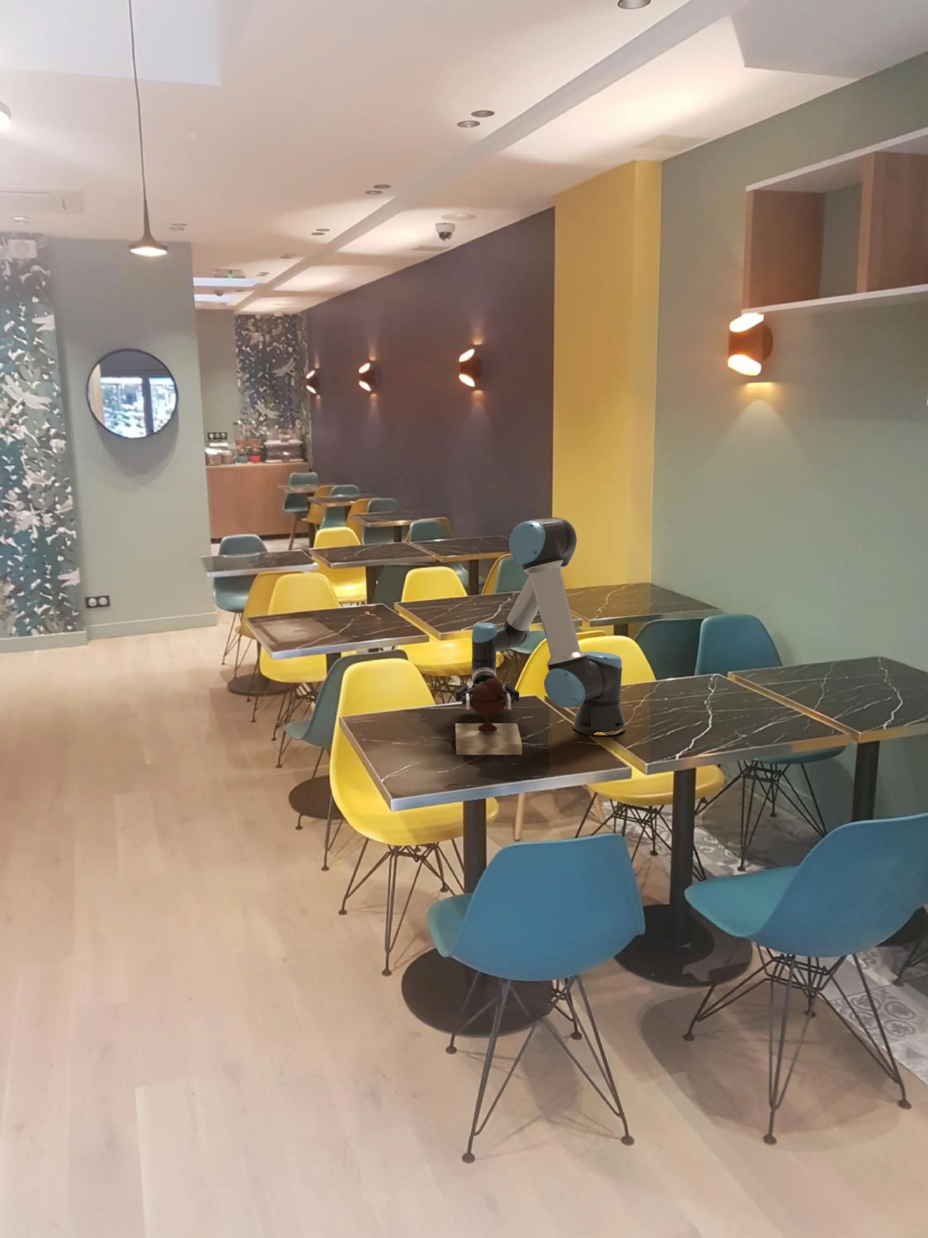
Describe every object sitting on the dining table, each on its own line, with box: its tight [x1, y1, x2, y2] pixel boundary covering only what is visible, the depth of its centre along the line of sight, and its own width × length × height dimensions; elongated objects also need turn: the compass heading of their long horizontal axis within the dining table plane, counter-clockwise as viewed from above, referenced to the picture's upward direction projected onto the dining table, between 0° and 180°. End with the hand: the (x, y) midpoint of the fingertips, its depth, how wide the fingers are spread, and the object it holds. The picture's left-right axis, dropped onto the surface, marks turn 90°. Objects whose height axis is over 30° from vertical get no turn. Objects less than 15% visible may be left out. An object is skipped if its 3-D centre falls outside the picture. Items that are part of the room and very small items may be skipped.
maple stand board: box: [454, 722, 523, 756], centre depth 279 cm, size 18×18×3 cm
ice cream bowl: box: [469, 678, 507, 733], centre depth 277 cm, size 11×11×15 cm
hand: (488, 705), depth 273 cm, fingers closed on ice cream bowl, 11 cm apart
